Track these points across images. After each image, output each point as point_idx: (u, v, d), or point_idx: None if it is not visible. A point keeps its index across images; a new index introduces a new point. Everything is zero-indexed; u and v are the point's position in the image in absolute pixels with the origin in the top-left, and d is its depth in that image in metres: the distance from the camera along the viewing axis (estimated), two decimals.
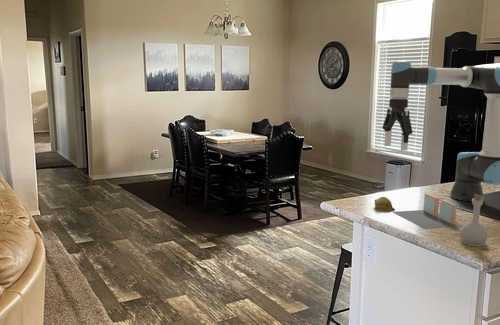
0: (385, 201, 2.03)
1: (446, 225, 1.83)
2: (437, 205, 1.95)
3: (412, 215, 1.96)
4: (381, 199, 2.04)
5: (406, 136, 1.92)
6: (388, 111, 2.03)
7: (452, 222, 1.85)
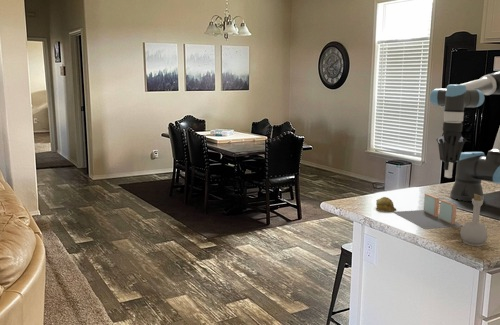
0: (387, 201, 2.03)
1: (446, 225, 1.83)
2: (437, 205, 1.95)
3: (412, 215, 1.96)
4: (383, 199, 2.04)
5: (444, 163, 1.97)
6: None
7: (452, 222, 1.85)
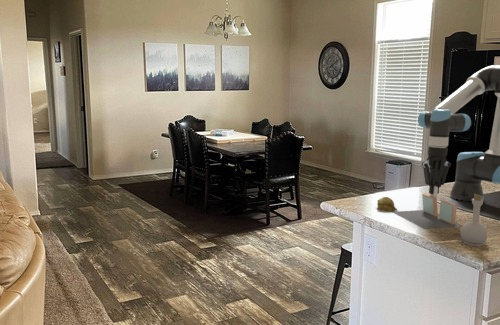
0: (387, 201, 2.03)
1: (446, 225, 1.83)
2: (435, 205, 1.95)
3: (412, 215, 1.96)
4: (383, 199, 2.04)
5: (430, 187, 1.97)
6: None
7: (452, 222, 1.85)
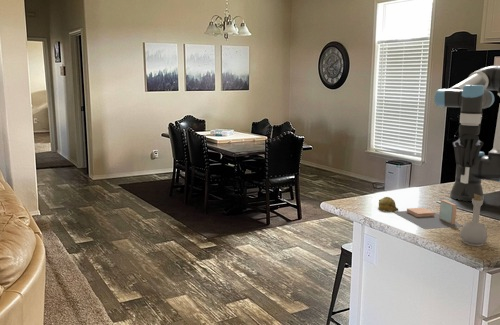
0: (388, 201, 2.03)
1: (446, 225, 1.83)
2: (424, 214, 1.94)
3: (412, 215, 1.96)
4: (385, 199, 2.05)
5: (461, 168, 1.87)
6: None
7: (452, 222, 1.85)
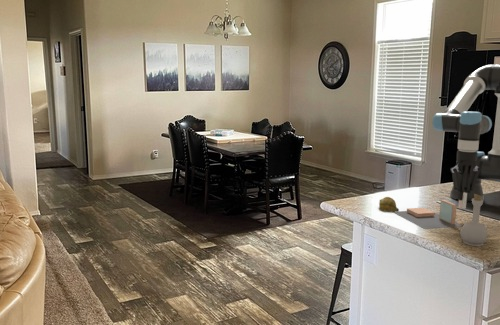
0: (389, 201, 2.03)
1: (446, 225, 1.83)
2: (424, 214, 1.94)
3: (412, 215, 1.96)
4: (385, 199, 2.05)
5: (458, 193, 1.88)
6: None
7: (452, 222, 1.85)
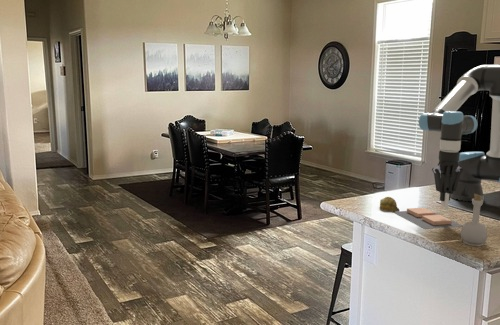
0: (389, 201, 2.03)
1: (446, 225, 1.83)
2: (424, 214, 1.94)
3: (412, 215, 1.96)
4: (386, 199, 2.05)
5: (441, 194, 1.86)
6: None
7: (449, 223, 1.85)
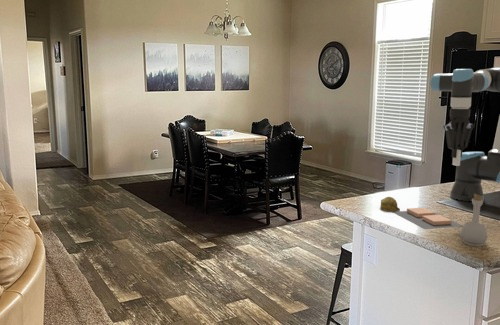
0: (390, 201, 2.03)
1: (446, 225, 1.83)
2: (424, 214, 1.94)
3: (412, 215, 1.96)
4: (386, 199, 2.05)
5: (452, 151, 1.91)
6: None
7: (449, 223, 1.85)
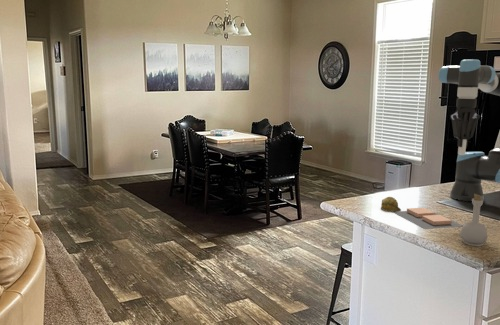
0: (390, 201, 2.03)
1: (446, 225, 1.83)
2: (424, 214, 1.94)
3: (412, 215, 1.96)
4: (387, 199, 2.05)
5: (458, 140, 1.94)
6: None
7: (449, 223, 1.85)
